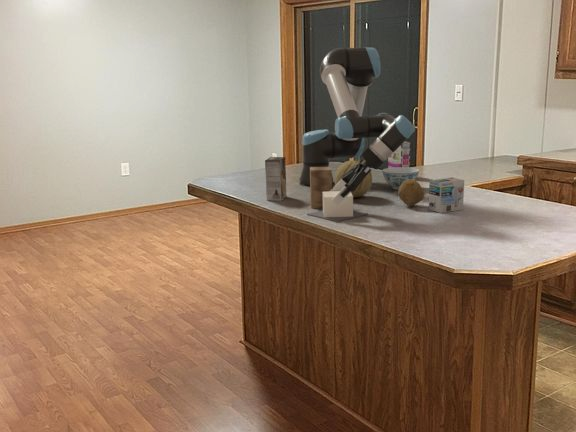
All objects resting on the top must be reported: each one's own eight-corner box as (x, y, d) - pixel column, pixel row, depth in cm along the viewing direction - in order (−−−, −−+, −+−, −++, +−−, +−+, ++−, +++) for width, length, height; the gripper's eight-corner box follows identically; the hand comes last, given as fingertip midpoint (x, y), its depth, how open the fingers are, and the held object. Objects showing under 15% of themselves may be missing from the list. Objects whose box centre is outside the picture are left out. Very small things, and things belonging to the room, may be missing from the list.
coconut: (392, 205, 227) (392, 178, 225) (412, 202, 230) (413, 176, 228) (406, 209, 219) (407, 182, 217) (427, 206, 222) (427, 179, 220)
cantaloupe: (326, 198, 242) (326, 160, 239) (349, 192, 253) (349, 156, 249) (357, 202, 232) (357, 163, 229) (379, 196, 243) (379, 158, 239)
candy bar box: (410, 177, 282) (410, 142, 278) (401, 178, 280) (401, 142, 276) (396, 174, 291) (396, 139, 288) (387, 175, 289) (387, 140, 286)
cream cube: (350, 210, 219) (350, 190, 217) (353, 216, 209) (353, 196, 208) (322, 210, 219) (322, 191, 217) (324, 217, 210) (324, 197, 208)
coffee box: (271, 195, 250) (270, 156, 246) (286, 196, 249) (285, 156, 245) (266, 200, 241) (264, 160, 238) (282, 200, 240) (280, 160, 236)
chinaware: (408, 192, 248) (408, 174, 246) (375, 189, 257) (375, 171, 255) (424, 186, 260) (425, 168, 258) (392, 183, 269) (393, 166, 267)
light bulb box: (440, 213, 212) (441, 182, 210) (427, 209, 218) (428, 180, 215) (464, 209, 217) (465, 179, 214) (450, 206, 223) (451, 176, 220)
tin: (330, 203, 233) (330, 166, 230) (332, 207, 226) (331, 169, 222) (310, 203, 233) (309, 167, 230) (311, 208, 226) (310, 170, 222)
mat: (337, 208, 225) (337, 206, 225) (367, 214, 213) (367, 213, 213) (307, 214, 215) (307, 213, 215) (336, 222, 204) (336, 220, 204)
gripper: (390, 167, 198) (343, 214, 201) (378, 156, 222) (337, 198, 226) (373, 151, 197) (327, 198, 200) (364, 142, 221) (323, 184, 224)
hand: (332, 198), depth 213 cm, fingers open, 13 cm apart
